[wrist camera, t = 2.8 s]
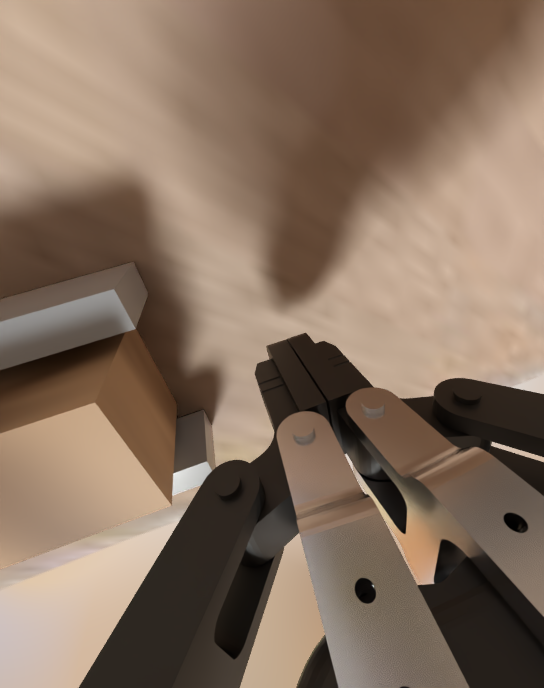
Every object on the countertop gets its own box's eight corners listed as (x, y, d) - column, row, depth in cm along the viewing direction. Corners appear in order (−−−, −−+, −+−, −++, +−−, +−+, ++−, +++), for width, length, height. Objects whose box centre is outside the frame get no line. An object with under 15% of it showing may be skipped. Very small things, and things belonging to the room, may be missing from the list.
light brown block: (131, 317, 11) (95, 402, 7) (177, 403, 13) (171, 505, 9) (-35, 368, 10) (-189, 495, 6) (44, 448, 13) (-29, 580, 8)
